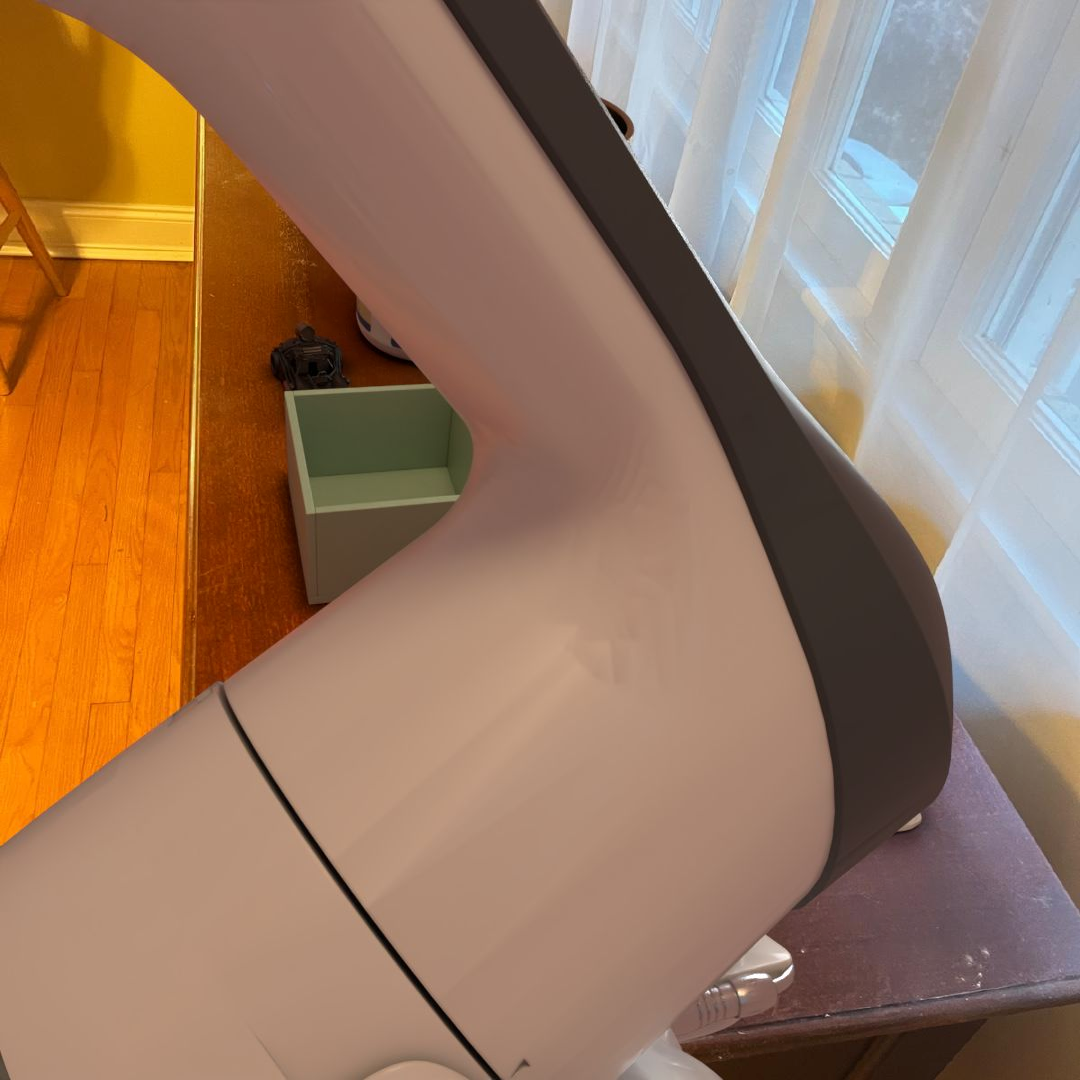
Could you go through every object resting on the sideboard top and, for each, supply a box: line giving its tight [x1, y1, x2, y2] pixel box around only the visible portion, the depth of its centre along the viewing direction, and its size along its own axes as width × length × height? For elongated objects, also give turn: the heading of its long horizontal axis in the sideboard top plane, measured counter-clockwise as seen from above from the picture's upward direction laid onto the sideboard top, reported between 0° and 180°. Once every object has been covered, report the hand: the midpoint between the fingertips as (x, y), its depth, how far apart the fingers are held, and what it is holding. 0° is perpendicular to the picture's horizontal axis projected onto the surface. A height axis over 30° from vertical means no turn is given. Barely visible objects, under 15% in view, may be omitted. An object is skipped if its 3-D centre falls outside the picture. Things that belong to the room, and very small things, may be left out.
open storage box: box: [283, 383, 473, 606], centre depth 72 cm, size 13×13×9 cm
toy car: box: [269, 322, 352, 392], centre depth 85 cm, size 6×12×4 cm, turn 22°
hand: (405, 899), depth 40 cm, fingers open, 8 cm apart
